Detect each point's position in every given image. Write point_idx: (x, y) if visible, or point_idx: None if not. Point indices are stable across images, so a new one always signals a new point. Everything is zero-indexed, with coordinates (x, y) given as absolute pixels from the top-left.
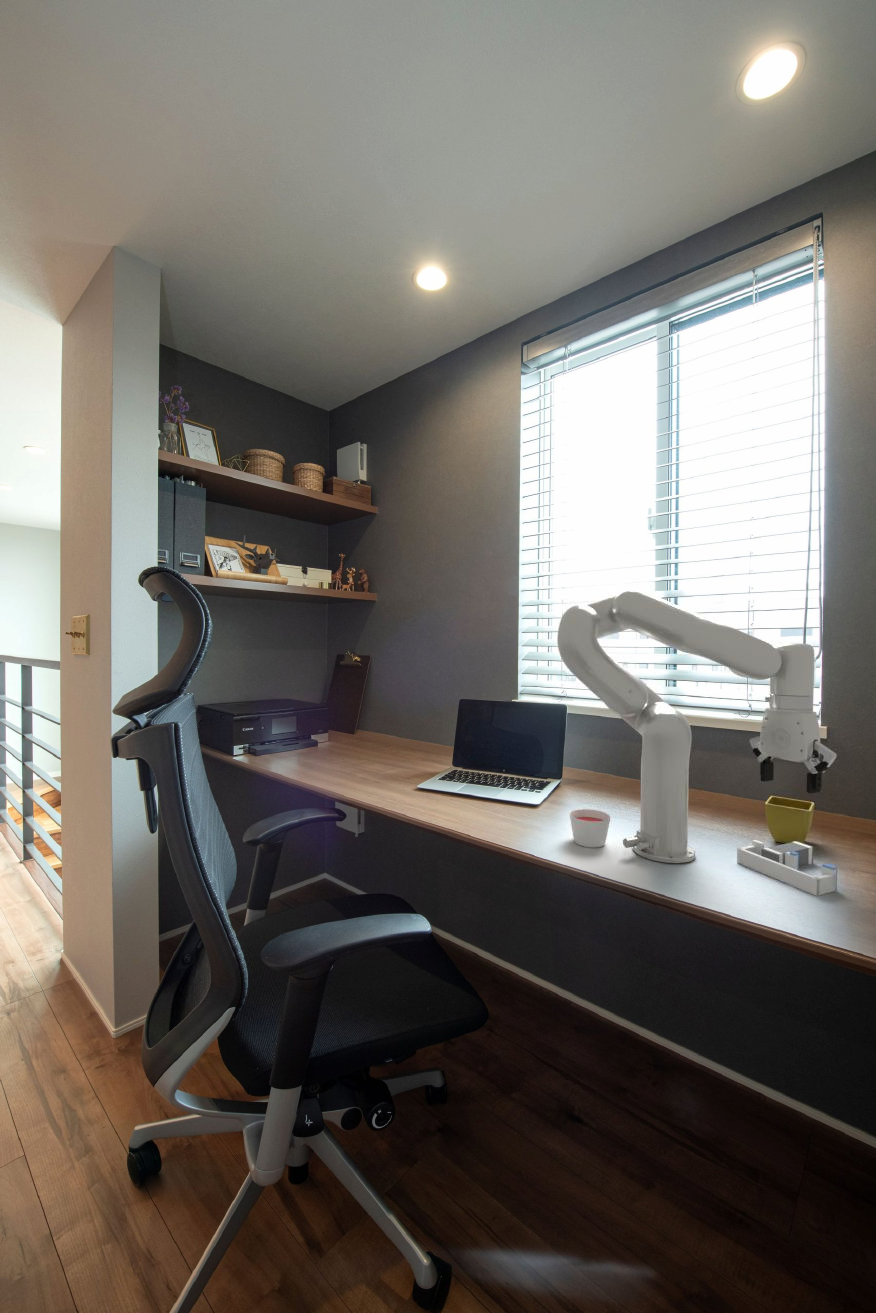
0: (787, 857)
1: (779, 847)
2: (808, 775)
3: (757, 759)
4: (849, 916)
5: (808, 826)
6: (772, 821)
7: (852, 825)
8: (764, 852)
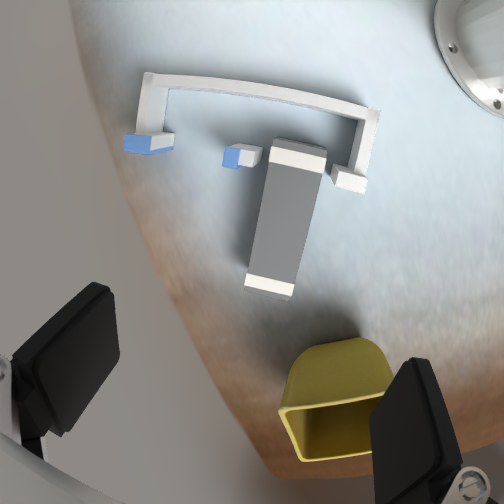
0: (250, 149)
1: (298, 208)
2: (33, 349)
3: (487, 478)
4: (99, 53)
5: (287, 378)
6: (371, 359)
7: (285, 470)
8: (316, 147)
